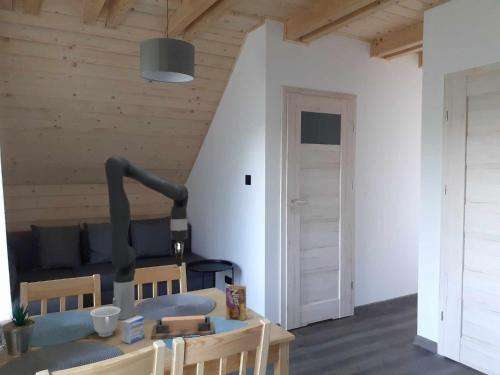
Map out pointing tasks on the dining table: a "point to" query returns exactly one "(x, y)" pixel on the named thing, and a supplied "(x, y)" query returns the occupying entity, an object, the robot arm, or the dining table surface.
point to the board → (163, 330)
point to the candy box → (236, 302)
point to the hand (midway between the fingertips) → (179, 266)
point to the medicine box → (133, 329)
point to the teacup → (105, 320)
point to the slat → (183, 322)
